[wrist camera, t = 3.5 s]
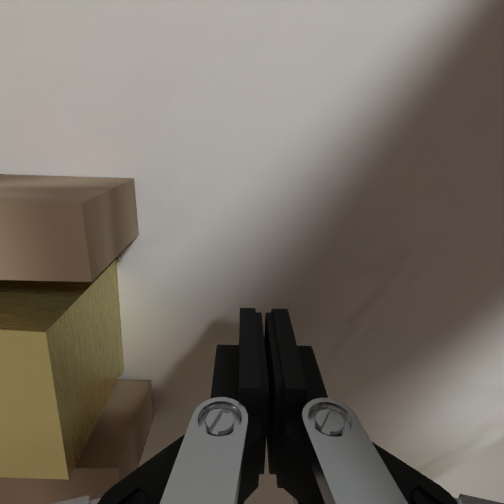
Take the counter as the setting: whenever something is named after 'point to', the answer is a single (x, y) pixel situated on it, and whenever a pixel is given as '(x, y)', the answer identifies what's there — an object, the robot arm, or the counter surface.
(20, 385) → the bar
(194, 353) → the counter surface
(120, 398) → the wooden bracket
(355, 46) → the counter surface
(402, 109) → the counter surface
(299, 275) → the counter surface
